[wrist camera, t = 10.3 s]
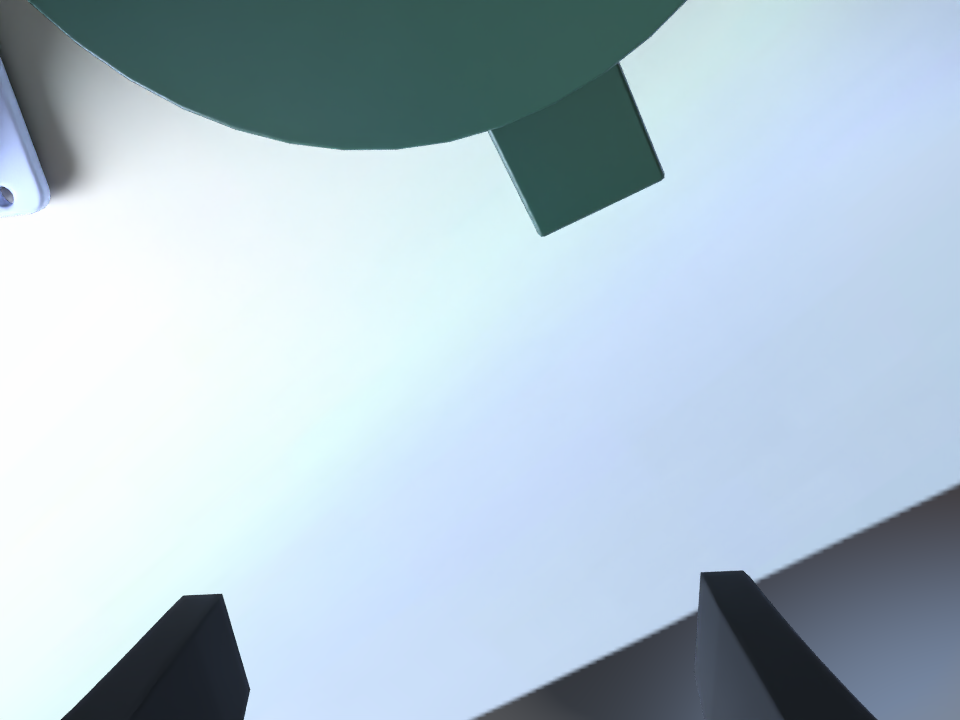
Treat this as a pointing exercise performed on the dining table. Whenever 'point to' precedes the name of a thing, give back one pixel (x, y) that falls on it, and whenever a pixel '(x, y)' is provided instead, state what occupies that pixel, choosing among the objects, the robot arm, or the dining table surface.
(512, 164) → the pot
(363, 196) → the dining table surface
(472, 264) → the dining table surface
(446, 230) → the dining table surface
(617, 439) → the dining table surface
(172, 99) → the lid
